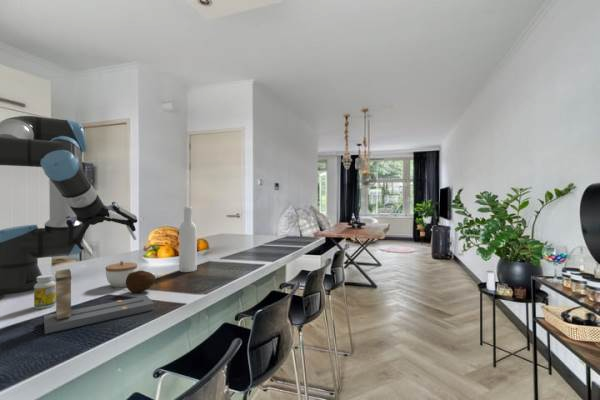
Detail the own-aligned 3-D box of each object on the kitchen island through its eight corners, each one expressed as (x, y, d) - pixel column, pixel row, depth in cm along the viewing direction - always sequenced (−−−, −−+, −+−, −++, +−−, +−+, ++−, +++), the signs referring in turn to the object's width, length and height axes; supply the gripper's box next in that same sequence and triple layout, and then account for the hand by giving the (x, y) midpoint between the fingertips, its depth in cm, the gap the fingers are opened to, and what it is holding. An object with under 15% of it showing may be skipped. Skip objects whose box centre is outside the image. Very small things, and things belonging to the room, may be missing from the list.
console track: (44, 334, 77) (44, 325, 77) (44, 322, 84) (44, 314, 84) (154, 309, 94) (154, 302, 94) (146, 301, 101) (146, 295, 101)
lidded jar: (123, 290, 113) (123, 265, 112) (98, 288, 115) (98, 263, 115) (143, 282, 123) (143, 259, 123) (120, 280, 125) (120, 257, 125)
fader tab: (56, 319, 80) (56, 274, 80) (55, 313, 84) (55, 270, 84) (71, 316, 82) (71, 272, 82) (70, 310, 86) (69, 268, 86)
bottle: (178, 269, 145) (178, 206, 144) (195, 267, 148) (196, 206, 148) (179, 273, 138) (179, 207, 137) (197, 271, 141) (197, 206, 141)
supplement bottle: (60, 304, 98) (59, 274, 98) (40, 310, 93) (40, 279, 93) (49, 302, 100) (49, 273, 99) (30, 307, 95) (29, 277, 94)
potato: (127, 290, 112) (127, 269, 112) (156, 287, 116) (156, 267, 116) (123, 296, 106) (123, 274, 105) (154, 293, 109) (154, 271, 109)
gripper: (32, 224, 82) (72, 268, 96) (131, 193, 91) (153, 238, 106) (33, 207, 86) (71, 251, 101) (127, 179, 96) (149, 224, 110)
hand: (113, 244), depth 103 cm, fingers open, 13 cm apart
